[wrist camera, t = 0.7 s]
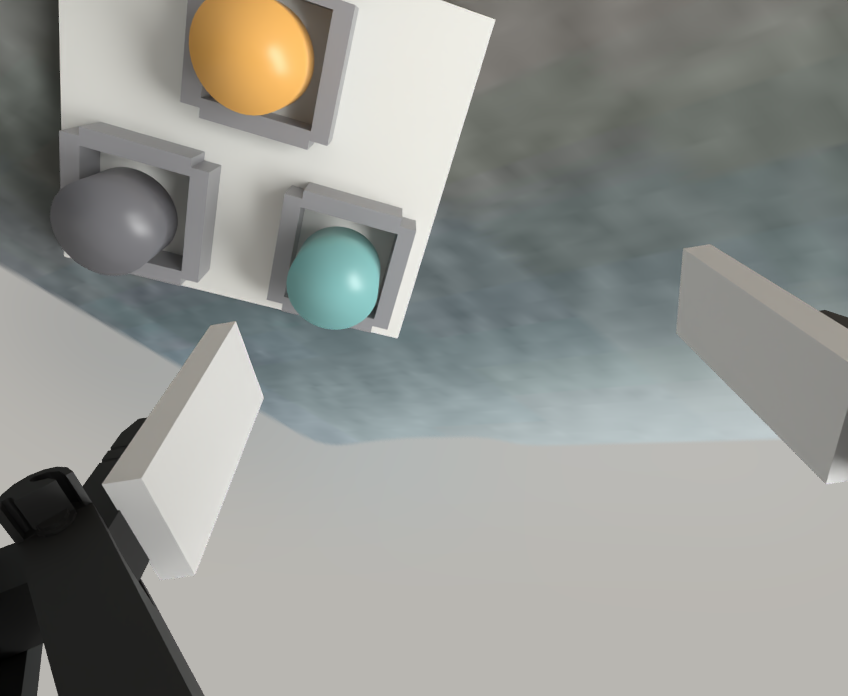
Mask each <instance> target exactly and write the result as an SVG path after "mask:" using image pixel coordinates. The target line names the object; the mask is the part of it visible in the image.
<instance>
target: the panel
mask: <svg viewBox="0 0 848 696" xmlns="http://www.w3.org/2000/svg"><path fill="white" fill-rule="evenodd" d="M204 1H205V0H59V38H60V85H61V130H59V151H60V190H61V189H62V188H63V187H64V186H66V185H68V184H70V183H72V182H75V181H78V180H80V179H83V178H86V177H88V176H91V175H93V174H96V173H99V172H101V171H104V170H107V169H110V168H114V167H128V168H133V169H136V170H139V171H142V172H144V173H146V174H148V175H149V176H151V177H153V178H154V179H155V180H156V181H158V182H159V183H160V184H161V185H162V186H163V187H164V188H165V190H166V191H167V192H168V194H169V195H170V197H171V198H172V200H173V202H174V205H175V207H176V211H177V217H178V226H177V231H176V234H175V236H174V238H173V240H172V241H171V243H170V244H169V245H168V246H167V247H165V248H164V249H163V250H162V251H160V252H159V253H158V254H157V255H155V256H154V257H153V258H152V259H150V260H149V261H148V262H147V263H145V264H144V265H143V266H142V267H140V268H139V269H138V270H136V271H134V272H132V273H129V274H134V275H138V276H142V277H146V278H150V279H154V280H158V281H162V282H166V283H170V284H174V285H178V286H181V285H182V286H186V287H191V288H195V289H199V290H203V291H207V292H211V293H215V294H219V295H223V296H227V297H231V298H235V299H239V300H243V301H247V302H252V303H256V304H260V305H264V306H268V307H272V308H276V309H280V310H281V311H284V312H288V313H292V314H296V315H299V314H298V312H297V311H296V310H295V309H294V307H293V306H292V304H291V302H290V300H289V297H288V293H287V285H286V282H287V276H288V272H289V269H290V267H291V265H292V263H293V262H294V260H295V258H296V256H297V254H298V252H299V250H300V249H301V247H302V245H303V243H304V242H305V241H306V240H307V238H308V237H309V236H311V235H312V234H313V233H315V232H316V231H318V230H320V229H323V228H327V227H334V226H339V227H346V228H350V229H353V230H355V231H357V232H359V233H361V234H362V235H364V236H365V237H366V238H367V239H368V240H369V241H370V242H371V243H372V245H373V246H374V247H375V249H376V251H377V253H378V256H379V260H380V279H379V288H378V296H377V301H376V303H375V306H374V308H373V310H372V311H371V313H370V314H369V315H368V316H367V317H366V318H365V319H364V320H363V321H362V322H360V323H358V324H357V325H354V326H352V327H349V328H353V329H357V330H362V331H366V332H370V333H371V332H374V333H378V334H382V335H386V336H390V337H394V338H398V336H399V332H400V329H401V326H402V323H403V319H404V316H405V313H406V310H407V306H408V303H409V300H410V296H411V293H412V290H413V287H414V283H415V280H416V277H417V274H418V270H419V267H420V264H421V261H422V257H423V254H424V251H425V248H426V244H427V241H428V238H429V235H430V231H431V228H432V225H433V221H434V218H435V215H436V212H437V208H438V205H439V202H440V199H441V195H442V192H443V189H444V186H445V182H446V179H447V176H448V173H449V169H450V166H451V163H452V160H453V156H454V153H455V150H456V146H457V143H458V140H459V137H460V133H461V130H462V127H463V124H464V120H465V117H466V114H467V111H468V107H469V104H470V101H471V98H472V94H473V91H474V88H475V85H476V81H477V78H478V75H479V71H480V68H481V65H482V62H483V58H484V55H485V52H486V49H487V45H488V42H489V39H490V36H491V32H492V29H493V26H494V23H495V19H492V18H489V17H486V16H484V15H481V14H478V13H475V12H472V11H470V10H467V9H464V8H461V7H458V6H456V5H453V4H450V3H447V2H445V1H442V0H277V1H279V2H281V3H282V4H284V5H286V6H287V7H288V8H290V9H291V10H292V11H293V12H294V13H295V14H296V15H297V16H298V17H299V19H300V20H301V21H302V23H303V24H304V26H305V27H306V29H307V31H308V33H309V36H310V39H311V41H312V45H313V50H314V71H313V75H312V79H311V81H310V84H309V86H308V88H307V89H306V91H305V92H304V93H303V95H302V96H301V97H300V98H299V99H298V100H296V101H295V102H294V103H292V104H290V105H288V106H286V107H284V108H281V109H279V110H276V111H274V112H271V113H269V114H264V115H255V116H253V115H245V114H240V113H237V112H235V111H232V110H230V109H228V108H226V107H225V106H223V105H222V104H220V103H219V102H218V101H216V100H215V99H214V98H213V97H212V96H211V95H210V94H209V93H208V92H207V91H206V89H205V88H204V87H203V85H202V84H201V82H200V80H199V79H198V77H197V75H196V73H195V70H194V68H193V65H192V62H191V57H190V52H189V32H190V27H191V23H192V20H193V18H194V15H195V13H196V12H197V10H198V8H199V7H200V6H201V4H202V3H203V2H204ZM62 249H63V248H62ZM64 257H69V258H71V257H70V256H69V255H68V254H67V253H66V252H65V251H64Z"/></svg>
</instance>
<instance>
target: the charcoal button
mask: <svg viewBox="0 0 848 696" xmlns="http://www.w3.org/2000/svg"><path fill="white" fill-rule="evenodd" d="M50 222H51V227H52V230H53V233H54V235H55V237H56V239H57V241H58V243H59V244H60V246H61V247H62V248H63V250H64V251H65V252H66V253H67V254H68V255H69V256H70V257H71V258H72V259H73V260H74V261H76V262H77V263H78V264H80V265H81V266H83V267H85V268H87V269H89V270H91V271H93V272H96V273H100V274H104V275H111V276H120V275H126V274H129V273H132V272H134V271H136V270H138V269H139V268H140V267H142V266H143V265H144V264H145V263H147V262H148V261H149V260H150V259H152V258H153V257H154V256H155V255H157V254H158V253H159V252H160V251H162V250H163V249H164V248H165V247H167V246H168V245H169V244H170V243H171V241H172V240H173V238H174V236H175V234H176V231H177V226H178V217H177V211H176V207H175V205H174V202H173V200H172V198H171V197H170V195H169V194H168V192H167V191H166V190H165V188H164V187H163V186H162V185H161V184H160V183H159V182H158V181H156V180H155V179H154V178H153V177H151V176H149V175H148V174H146V173H144V172H142V171H139V170H136V169H133V168H128V167H114V168H110V169H107V170H104V171H101V172H99V173H96V174H93V175H91V176H88V177H86V178H83V179H80V180H78V181H75V182H72V183H70V184H68V185H66V186H64V187H63V188H62V189H61V190H60V191H59V192H58V193H57V194H56V196H55V197H54V199H53V202H52V204H51V209H50Z"/></svg>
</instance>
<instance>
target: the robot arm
mask: <svg viewBox="0 0 848 696" xmlns="http://www.w3.org/2000/svg"><path fill="white" fill-rule="evenodd" d="M676 333H677V334H678V335H679V336H680V337H681V338H682V340H683V341H684V342H685V343H686V344H687V345H688V346H689V347H690V348H691V349H692V350H693V351H694V352H695V353H696V354H697V355H698V356H699V357H700V358H701V359H702V360H703V361H704V362H705V363H706V364H707V365H708V366H709V367H710V368H711V369H712V370H713V371H714V372H715V373H716V374H717V375H718V376H719V377H720V378H721V379H722V380H723V381H724V382H725V383H726V384H727V385H728V386H729V387H730V388H731V389H732V390H733V391H734V392H735V393H736V394H737V395H738V396H739V397H740V398H741V399H742V400H743V401H744V402H745V403H746V404H747V405H748V406H749V407H750V408H751V409H752V410H753V411H754V412H755V413H756V414H757V415H758V416H759V417H760V418H761V419H762V420H763V421H764V422H765V423H766V424H767V425H768V426H769V427H770V428H771V429H772V430H773V431H774V432H775V433H776V434H777V435H778V436H779V437H780V438H781V439H782V440H783V441H784V442H785V443H786V444H787V445H788V446H789V447H790V448H791V449H792V450H793V452H795V454H796V455H797V456H798V457H799V458H800V459H801V460H803V461H804V463H805V464H806V465H808V467H809V468H810V469H812V471H814V473H815V474H816V475H817V476H818V477H819V478H820V479H821V480H822V481H823V482H824V483H825V484H831V483H838V482H845V481H848V317H845V316H842V315H839V314H835V313H832V312H829V311H826V310H822V311H818V310H816V309H815V308H813V307H812V306H810V305H808V304H807V303H805V302H803V301H802V300H800V299H799V298H797V297H795V296H794V295H792V294H790V293H789V292H787V291H785V290H784V289H782V288H781V287H779V286H777V285H776V284H774V283H772V282H771V281H769V280H768V279H766V278H764V277H763V276H761V275H759V274H758V273H756V272H755V271H753V270H751V269H750V268H748V267H746V266H745V265H743V264H742V263H740V262H738V261H737V260H735V259H733V258H732V257H730V256H729V255H727V254H725V253H724V252H722V251H720V250H719V249H717V248H716V247H714V246H712V245H711V244H709V245H703V246H697V247H690V248H684V249H683V258H682V270H681V282H680V293H679V305H678V317H677V329H676ZM263 398H264V397H263V394H262V391H261V389H260V386H259V383H258V381H257V378H256V375H255V372H254V370H253V367H252V364H251V361H250V359H249V356H248V353H247V351H246V348H245V345H244V342H243V340H242V337H241V334H240V332H239V329H238V326H237V323H236V321H235V322H228V323H222V324H216V325H210V327H209V328H208V330H207V331H206V333H205V334H204V336H203V337H202V339H201V340H200V341H199V343H198V344H197V346H196V347H195V349H194V350H193V352H192V353H191V355H190V356H189V358H188V359H187V360H186V362H185V363H184V365H183V366H182V368H181V369H180V371H179V372H178V374H177V375H176V377H175V378H174V379H173V381H172V382H171V384H170V385H169V387H168V388H167V390H166V391H165V393H164V394H163V396H162V397H161V398H160V400H159V401H158V403H157V404H156V406H155V407H154V409H153V410H152V412H151V413H150V415H149V416H148V417H147V418H141V419H138V420H137V421H136V422H134V423H133V424H132V425H131V426H129V427H128V428H127V429H126V430H124V431H123V432H122V433H121V434H120V436H119V437H118V438H117V440H116V441H115V443H114V444H113V445H112V447H111V450H110V451H108V452H107V454H106V455H105V456H104V458H103V459H102V463H99V465H98V466H97V467H96V469H95V470H94V471H93V473H92V474H91V475H90V477H89V478H88V480H87V481H86V482H85V484H84V485H83V487H82V485H81V484H80V482H79V481H78V479H77V477H76V476H75V474H74V473H73V471H71V470H70V469H69V468H67V467H53V468H49V469H45V470H42V471H39V472H37V473H34V474H32V475H29V476H27V477H26V478H24V479H22V480H21V481H19V482H17V483H16V484H14V485H13V486H11V487H10V488H9V489H8V490H7V491H5V492H4V493H3V494H2V495H1V496H0V524H1V525H2V526H3V527H4V529H5V530H6V531H7V533H8V534H9V535H10V536H11V538H12V539H13V540H14V542H15V543H14V544H11V545H8V546H5V547H3V548H0V696H37V690H38V681H39V672H40V663H41V654H42V646H43V643H44V645H45V649H46V653H47V656H48V660H49V663H50V667H51V671H52V674H53V678H54V682H55V685H56V689H57V692H58V696H204V694H203V692H202V690H201V688H200V686H199V685H198V683H197V681H196V679H195V677H194V675H193V673H192V672H191V670H190V668H189V666H188V665H187V662H186V661H185V659H184V657H183V655H182V653H181V652H180V649H179V647H178V646H177V644H176V642H175V640H174V639H173V636H172V635H171V633H170V631H169V629H168V627H167V625H166V623H165V622H164V620H163V618H162V616H161V614H160V612H159V610H158V609H157V607H156V605H155V603H154V601H153V599H152V597H151V595H150V594H149V592H148V590H147V588H146V587H145V585H144V583H143V582H142V580H141V579H140V578H141V576H142V574H143V572H144V570H145V568H146V566H147V564H148V562H149V563H150V565H151V566H152V568H153V570H154V571H155V573H156V575H157V576H158V578H159V580H166V579H172V578H178V577H186V576H193V575H195V574H196V571H197V569H198V566H199V563H200V561H201V558H202V556H203V553H204V551H205V548H206V546H207V543H208V540H209V538H210V535H211V533H212V530H213V527H214V525H215V522H216V520H217V517H218V515H219V512H220V509H221V507H222V504H223V502H224V499H225V496H226V494H227V491H228V489H229V486H230V484H231V481H232V478H233V476H234V473H235V471H236V468H237V465H238V463H239V460H240V458H241V455H242V452H243V450H244V447H245V445H246V442H247V439H248V437H249V434H250V432H251V429H252V427H253V424H254V422H255V419H256V416H257V414H258V411H259V409H260V406H261V404H262V401H263Z"/></svg>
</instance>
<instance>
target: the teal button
mask: <svg viewBox="0 0 848 696" xmlns="http://www.w3.org/2000/svg"><path fill="white" fill-rule="evenodd" d="M379 279H380V260H379V256H378V253H377V251H376V249H375V247H374V246H373V245H372V243H371V242H370V241H369V240H368V239H367V238H366V237H365V236H364V235H362V234H361V233H359V232H357V231H355V230H353V229H350V228H346V227H339V226H334V227H327V228H323V229H320V230H318V231H316V232H315V233H313V234H312V235H311V236H309V237H308V238H307V240H306V241H305V242H304V243H303V245H302V247H301V249H300V250H299V252H298V254H297V256H296V258H295V260H294V262H293V263H292V265H291V267H290V269H289V272H288V276H287V282H286V285H287V293H288V297H289V300H290V302H291V304H292V306H293V307H294V309H295V310H296V311H297V312H298V314H299V315H300V316H301V317H303V318H304V319H305V320H307V321H308V322H310V323H311V324H313V325H316V326H318V327H321V328H325V329H334V330H336V329H345V328H349V327H352V326H354V325H357V324H358V323H360V322H362V321H363V320H364V319H365V318H366V317H367V316H368V315H369V314H370V313H371V311H372V310H373V308H374V306H375V303H376V301H377V296H378V288H379Z"/></svg>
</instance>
